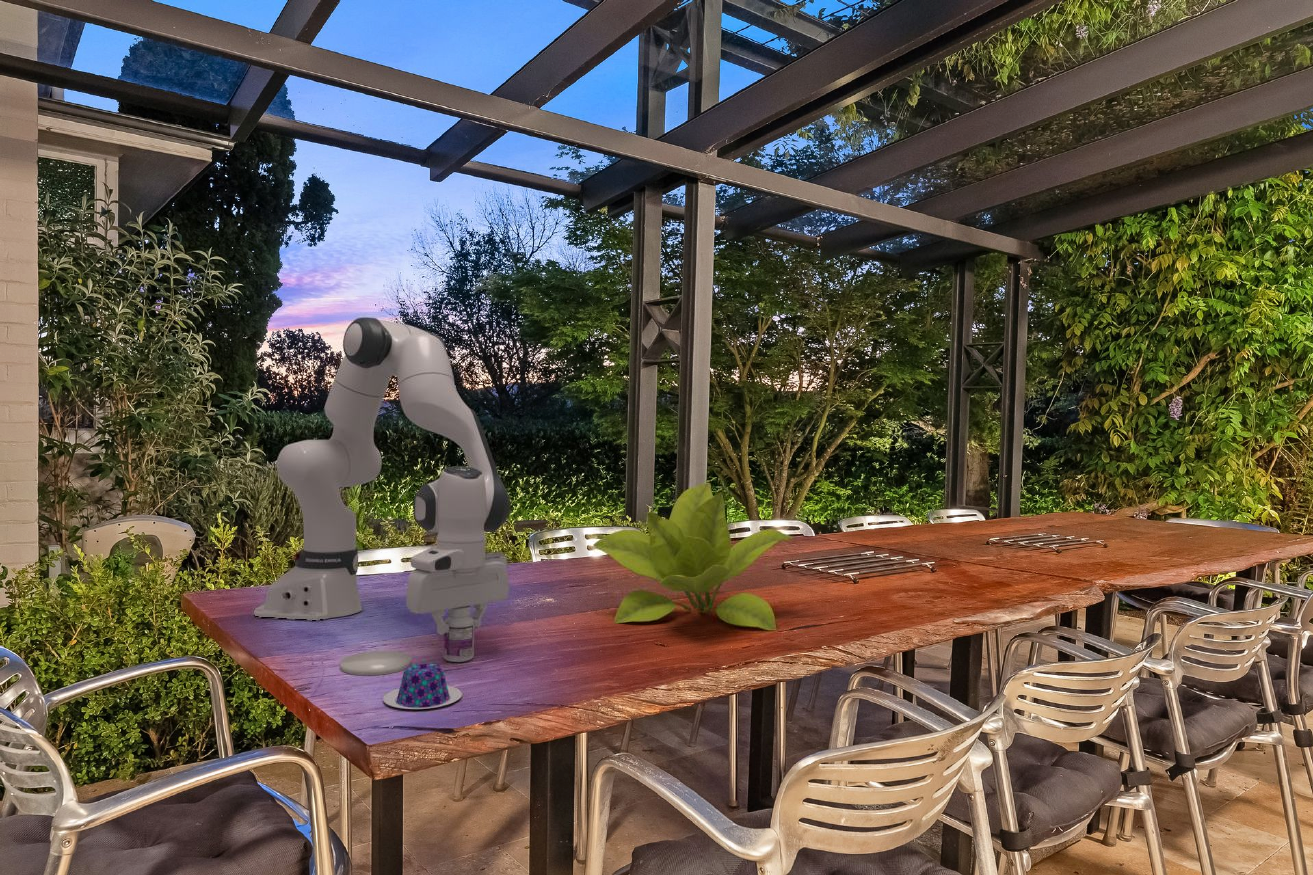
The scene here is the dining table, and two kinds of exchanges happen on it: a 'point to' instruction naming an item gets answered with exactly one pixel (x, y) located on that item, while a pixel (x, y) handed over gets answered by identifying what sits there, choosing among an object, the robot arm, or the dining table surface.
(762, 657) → the dining table surface
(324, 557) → the robot arm
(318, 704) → the dining table surface
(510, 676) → the dining table surface
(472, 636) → the pill bottle
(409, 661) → the coaster
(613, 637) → the dining table surface
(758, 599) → the artificial plant
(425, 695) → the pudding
